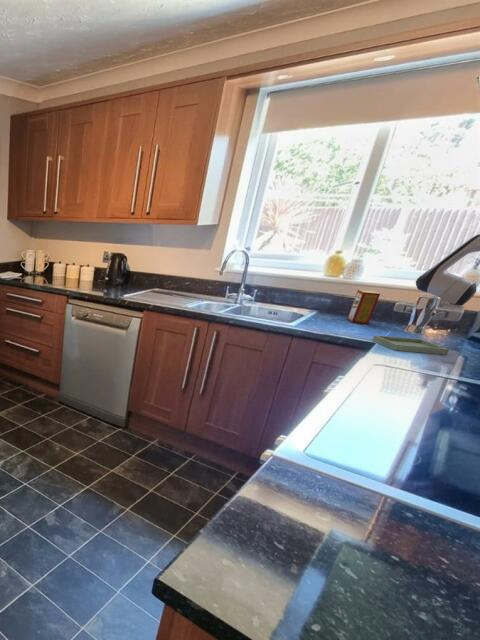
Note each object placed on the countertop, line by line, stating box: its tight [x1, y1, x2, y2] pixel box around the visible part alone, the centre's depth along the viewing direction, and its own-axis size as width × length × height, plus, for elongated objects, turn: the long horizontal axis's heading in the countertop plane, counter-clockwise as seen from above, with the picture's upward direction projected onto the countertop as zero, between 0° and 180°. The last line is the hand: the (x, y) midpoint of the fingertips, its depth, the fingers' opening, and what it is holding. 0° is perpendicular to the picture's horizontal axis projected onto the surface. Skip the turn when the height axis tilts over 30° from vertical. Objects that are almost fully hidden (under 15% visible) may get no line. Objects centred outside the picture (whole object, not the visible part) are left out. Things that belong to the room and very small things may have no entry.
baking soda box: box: [346, 289, 381, 325], centre depth 220 cm, size 10×6×16 cm
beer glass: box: [403, 294, 441, 335], centre depth 174 cm, size 7×7×15 cm
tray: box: [372, 334, 450, 356], centre depth 179 cm, size 18×16×2 cm
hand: (422, 312), depth 173 cm, fingers closed on beer glass, 7 cm apart
